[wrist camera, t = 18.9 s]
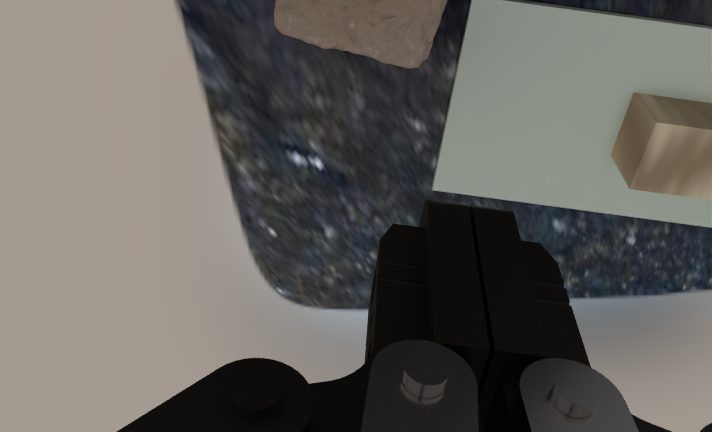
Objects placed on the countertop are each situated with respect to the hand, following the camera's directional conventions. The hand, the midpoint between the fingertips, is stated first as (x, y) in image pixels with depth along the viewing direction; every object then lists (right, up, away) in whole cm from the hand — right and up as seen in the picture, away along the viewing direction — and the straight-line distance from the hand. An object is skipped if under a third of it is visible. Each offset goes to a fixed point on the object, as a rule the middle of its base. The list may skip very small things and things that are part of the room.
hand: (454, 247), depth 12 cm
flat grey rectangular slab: (+13, +6, +27) cm, 31 cm away
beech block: (+14, +5, +25) cm, 29 cm away
